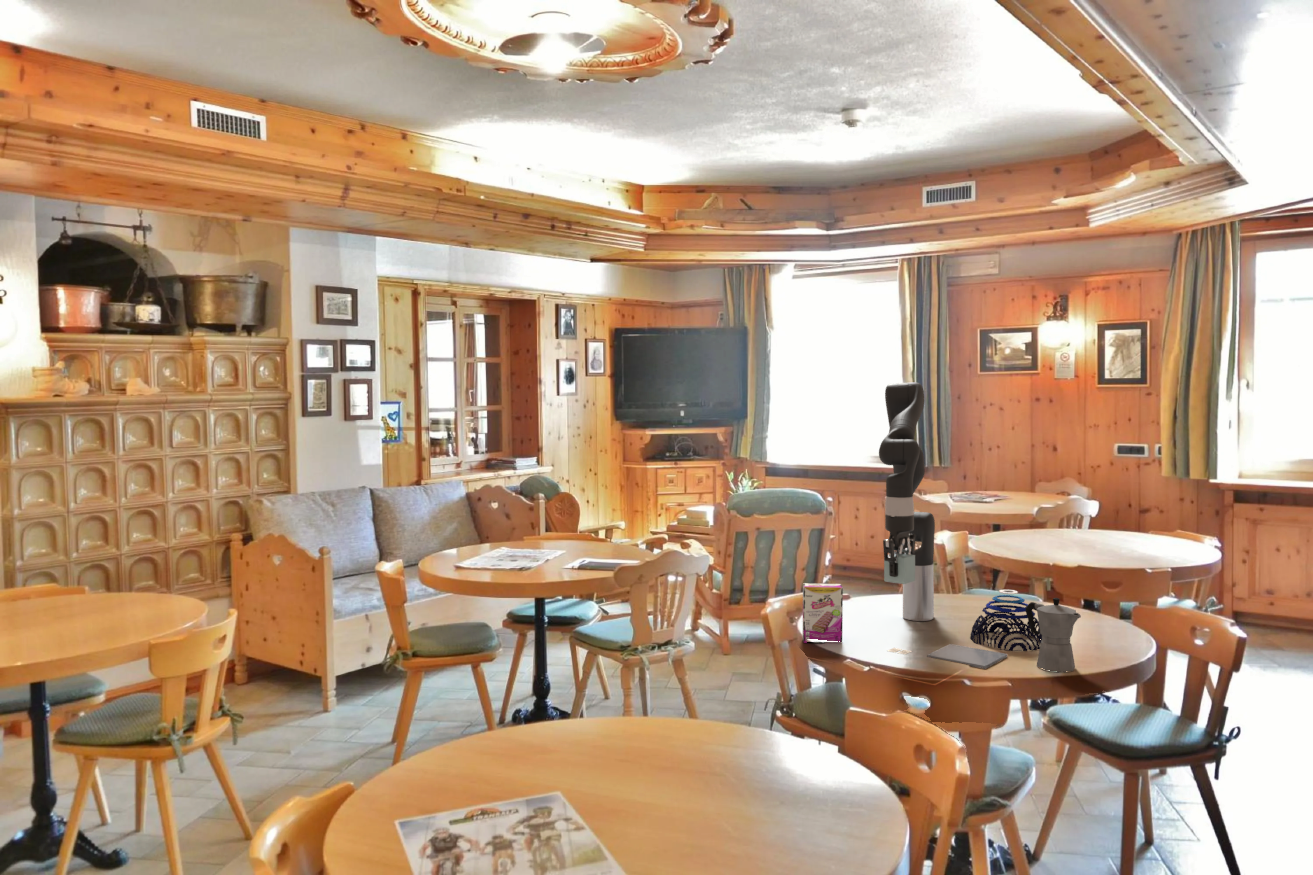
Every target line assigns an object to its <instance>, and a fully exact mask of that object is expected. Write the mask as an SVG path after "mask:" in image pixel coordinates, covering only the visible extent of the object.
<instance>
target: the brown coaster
mask: <svg viewBox="0 0 1313 875" xmlns="http://www.w3.org/2000/svg"><path fill="white" fill-rule="evenodd" d="M887 652H890V653H897V654H900V655H908V654H910V653H912V652H913V651H912V650H909V649H902V648H897V647H893V648H891V649H888V650H887Z"/></svg>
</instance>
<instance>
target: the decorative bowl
mask: <svg viewBox="0 0 1313 875" xmlns="http://www.w3.org/2000/svg"><path fill="white" fill-rule="evenodd" d="M998 592H999V593H1000V594H1001V595H1000V594H999V595H995V596H993V597H992V600H991V601H988V602H987V603H986V604H985V607H983V608H982V610H981V611H982V612H984V614H985V616H983V615H982V614H980V615H978V617H977V618H976V620H975V621H974V624H973V625H972V627H971V632H970V637H969V639H970V640H971V641H972V642H973V643H974V644H975V645H982V646H985V642H986V644H987V647H989V648H990V647H991V648H992V646H994V648H993V649H996V645H997V649H999V650H1000V651H1008V652H1028V651H1027V650H1032V651H1038V650H1037V649H1039V650H1040V645H1039V644H1041V641H1042V635H1041V634H1040V633H1039V635H1037V634H1033V633H1032V632H1031V628H1030V625H1029V621H1028V620H1027V623H1025V622H1024V621H1023V620H1025V619H1028V618H1027V614H1022V615H1021V614H1020V615H1016V613H1026V611H1025V608H1026V606H1027V605H1028V604H1029V603H1026V602H1025V599H1024V598H1022V597H1021V596H1017V594H1019V591H1017V590H1015V589H999V590H998ZM1000 598H1013V599H1015V600H1009V599H1006V600H1005V599H1000ZM993 604H994V605H993ZM1009 604H1010V605H1009ZM1011 604H1013V605H1011ZM1014 604H1015V605H1014ZM1016 604H1017V605H1016ZM1019 605H1020V606H1019ZM989 609H991V610H993V612H990V611H987V610H989ZM1032 613H1033V619H1034V622H1035V629H1036V630H1037V631H1039V632H1040V628H1039V621H1038V618H1037V617H1035V615H1036V612H1034V611H1033V610H1032ZM1022 619H1023V620H1022ZM997 621H998V622H997ZM1002 632H1003V633H1002ZM989 633H990V634H992V635H991V637H989V636H990V635H989ZM1002 634H1003V635H1002ZM1015 634H1018V635H1022V636H1024V637H1026V639H1024V638H1023V637H1022V636H1021V637H1019V636H1014V637H1012V638H1011V637H1010V638H1009V639H1008V640H1007V641H1006V638H1007V637H1009V636H1012V635H1015ZM1001 635H1002V636H1001ZM1000 636H1001V637H1000ZM1031 636H1032V637H1033V638H1031ZM1036 637H1037V638H1036ZM999 638H1000V639H999ZM998 639H999V640H998ZM1027 639H1028V640H1027ZM1040 639H1041V640H1040ZM989 640H990V642H989ZM997 640H998V642H997ZM1014 640H1015V641H1016V640H1017V641H1018V640H1022V641H1023V642H1013V643H1011V642H1012V641H1014ZM1034 640H1035V641H1034ZM1005 641H1006V642H1005ZM1029 641H1030V642H1031V643H1032V645H1031V643H1030V642H1029ZM992 642H993V644H992ZM1009 643H1011V644H1010V646H1009V648H1008V649H1007V647H1008V645H1009ZM1003 645H1004V646H1003ZM1002 646H1003V648H1004V649H1003V648H1002ZM1027 646H1028V647H1027ZM1032 646H1033V648H1032ZM1016 647H1019V648H1021V649H1022V650H1023V651H1022V650H1020V649H1018V650H1014V649H1015V648H1016Z"/></svg>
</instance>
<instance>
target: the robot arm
mask: <svg viewBox="0 0 1313 875" xmlns="http://www.w3.org/2000/svg"><path fill="white" fill-rule="evenodd" d="M884 396H885V397H884V399H885V407H886V414H887V420H888V425H889V426H888V427H889V431H888V434H887V435H886V436H885V437H884V439H882V441H881V442H880V445H879V450H878V457H879V460H880V461H881V463H882V464H884V465H886V466H892V469H893V470H892V471H893V473H892V474H889V475H887V477H886V481H885V496H886V497H885V503H884V504H885V505H884V508H885V510H884V518H885V519H884V522H885V523H884V524H885V525H884V526H885V527H884V528H885V530H886V531H888V532H889V536H888V538H887V539H883V540H882V545H883V548H882V549H883V558H884V559H883V560H885V561H888V562H889V575H890V576H892V577H897V576H898V557H899V556H900V555H901V554H910V555H915V581H913V582H910V583H907V584H902V618H903V619H905V620H908V621H914V622H928V621H932V620H933V619H934V617H935V616H934V615H935V613H934V612H935V608H934V607H935V601H934V599H935V594H934V593H935V588H934V587H935V586H934V555H935V552H934V550H935V547H934V546H935V533H936V532H935V531H936V529H935V528H936V524H935V523H936V522H935V516H934V515H933V513H931V512H927V511H924V512H923V511H915V504H914V493H915V492H916V490H917V489H918V487H919V486H920V484H921V483H922V481H923V478H924V476H925V473H926V471H925V470H926V469H925V468H926V467H925V460H924V459H925V457H924V452H923V450H922V448H921V446H920V445H919V444H918V442H917V441H916V440H915V435H916V428H917V425H918V422H919V420H920V419H921V415H922V414H923V411H924V408H925V406H924V405H925V391H924V387H923V385H922V384H921V383H919V382H914V381H913V382H898V383H889V384H887V386H886V387H885V392H884ZM916 542H918V543H921V544H920V547H919V548H916ZM915 548H916V549H915ZM888 555H889V556H888ZM894 555H895V556H894Z"/></svg>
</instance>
